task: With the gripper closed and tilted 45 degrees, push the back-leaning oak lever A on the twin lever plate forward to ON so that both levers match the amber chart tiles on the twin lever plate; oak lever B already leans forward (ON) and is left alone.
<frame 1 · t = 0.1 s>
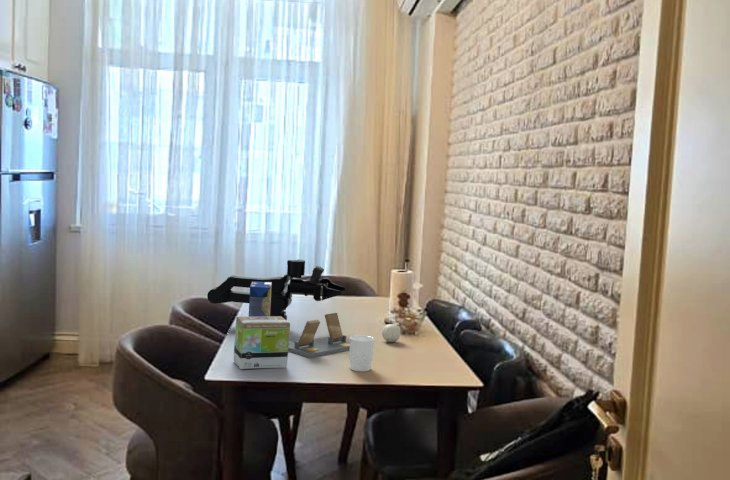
hand: (343, 290, 271), 17 cm above the table, tool horizontal, fingers open, 9 cm apart
beverage box: (257, 348, 243), on the table
twin lever plate: (320, 348, 248), on the table
white cup: (360, 369, 225), on the table
lever A: (334, 327, 253), point 6 cm above the table, hinge at -25.0°
tea box: (260, 365, 223), on the table
lever B: (308, 333, 241), point 6 cm above the table, hinge at 25.0°
baseball: (390, 342, 263), on the table
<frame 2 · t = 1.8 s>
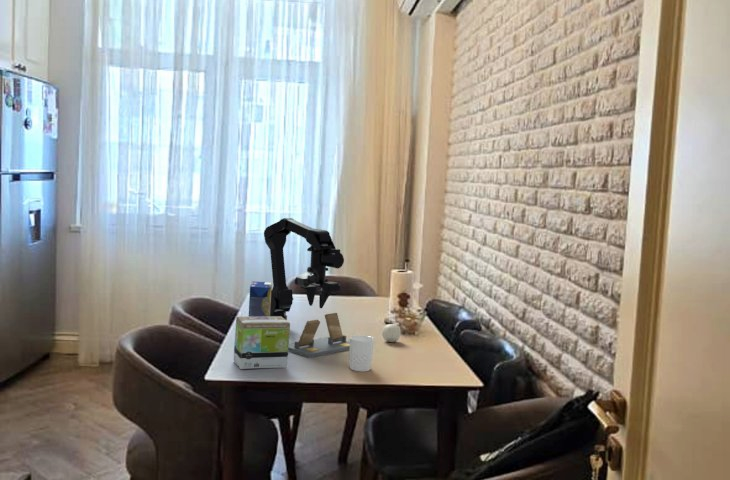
hand: (315, 306, 259), 12 cm above the table, tool pointing down, fingers open, 5 cm apart
nothing on the table moved.
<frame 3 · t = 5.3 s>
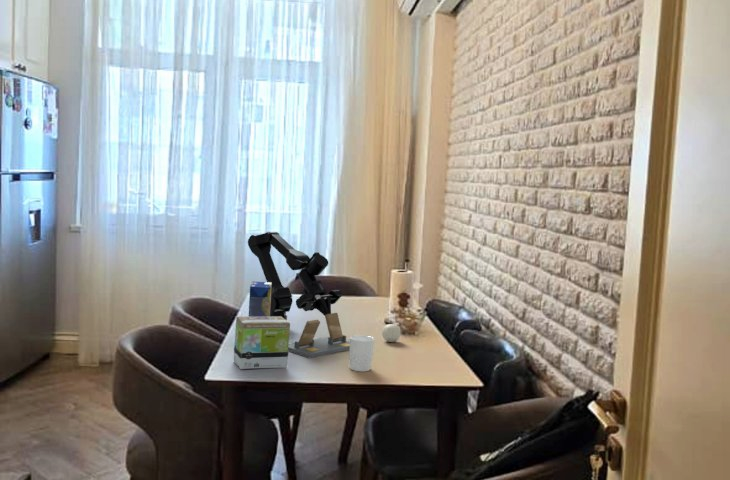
hand: (329, 318, 254), 9 cm above the table, tool tilted 45°, fingers closed, pressing on lever A
lever A: (334, 327, 253), point 6 cm above the table, hinge at -24.2°, touching gripper
everything else where it was.
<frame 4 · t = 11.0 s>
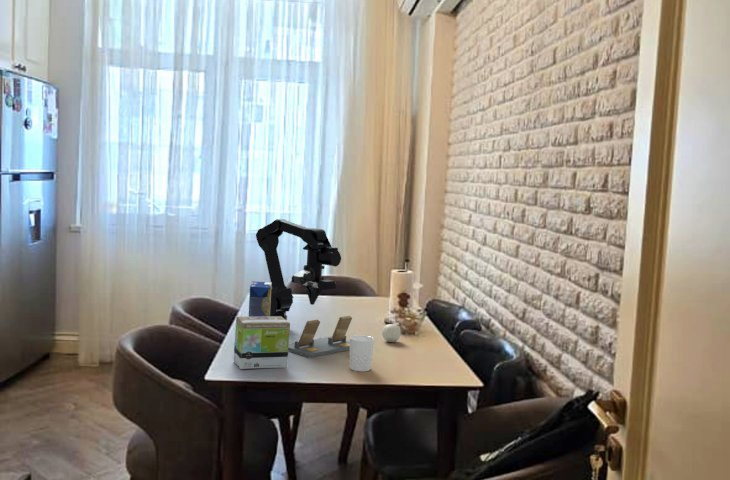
hand: (312, 304, 263), 12 cm above the table, tool pointing down, fingers closed
lever A: (341, 329, 250), point 6 cm above the table, hinge at 22.4°
everything else where it was.
at the end: lever A at +22° (first picture: -25°); lever B at +25° (first picture: +25°) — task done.
